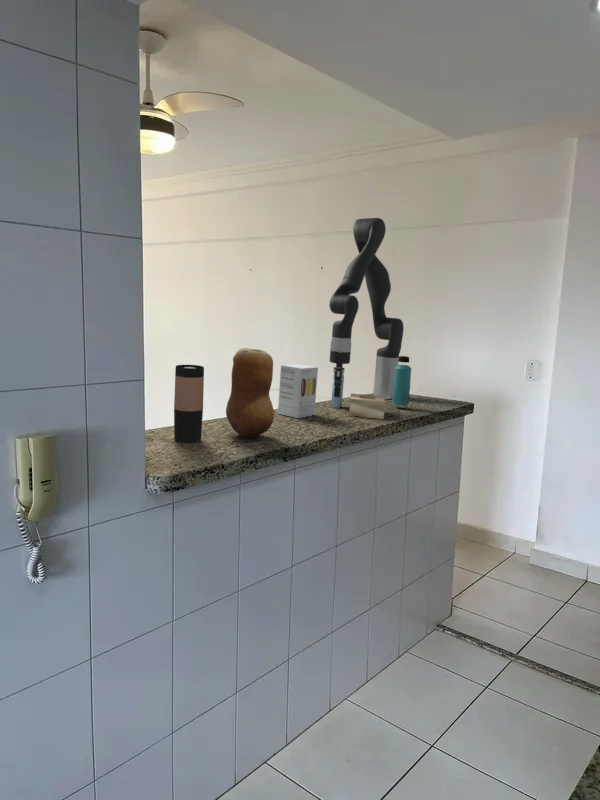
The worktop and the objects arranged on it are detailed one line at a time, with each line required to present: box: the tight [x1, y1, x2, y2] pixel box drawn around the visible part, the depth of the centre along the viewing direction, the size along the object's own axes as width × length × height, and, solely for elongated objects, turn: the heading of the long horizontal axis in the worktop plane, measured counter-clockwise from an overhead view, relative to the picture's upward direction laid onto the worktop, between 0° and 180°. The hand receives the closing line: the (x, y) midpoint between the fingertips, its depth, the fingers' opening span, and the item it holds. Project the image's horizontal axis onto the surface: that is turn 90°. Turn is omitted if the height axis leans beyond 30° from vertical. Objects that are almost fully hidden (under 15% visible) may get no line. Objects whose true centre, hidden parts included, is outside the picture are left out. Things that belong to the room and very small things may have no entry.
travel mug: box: [173, 364, 205, 444], centre depth 159 cm, size 8×8×20 cm
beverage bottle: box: [391, 355, 412, 407], centre depth 225 cm, size 6×7×20 cm
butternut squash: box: [225, 347, 275, 440], centre depth 166 cm, size 14×13×25 cm
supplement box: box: [277, 363, 319, 419], centre depth 201 cm, size 10×9×17 cm
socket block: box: [348, 393, 386, 420], centre depth 211 cm, size 12×12×6 cm
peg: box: [330, 374, 345, 409], centre depth 220 cm, size 4×4×12 cm
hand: (337, 395), depth 220 cm, fingers closed on peg, 4 cm apart
